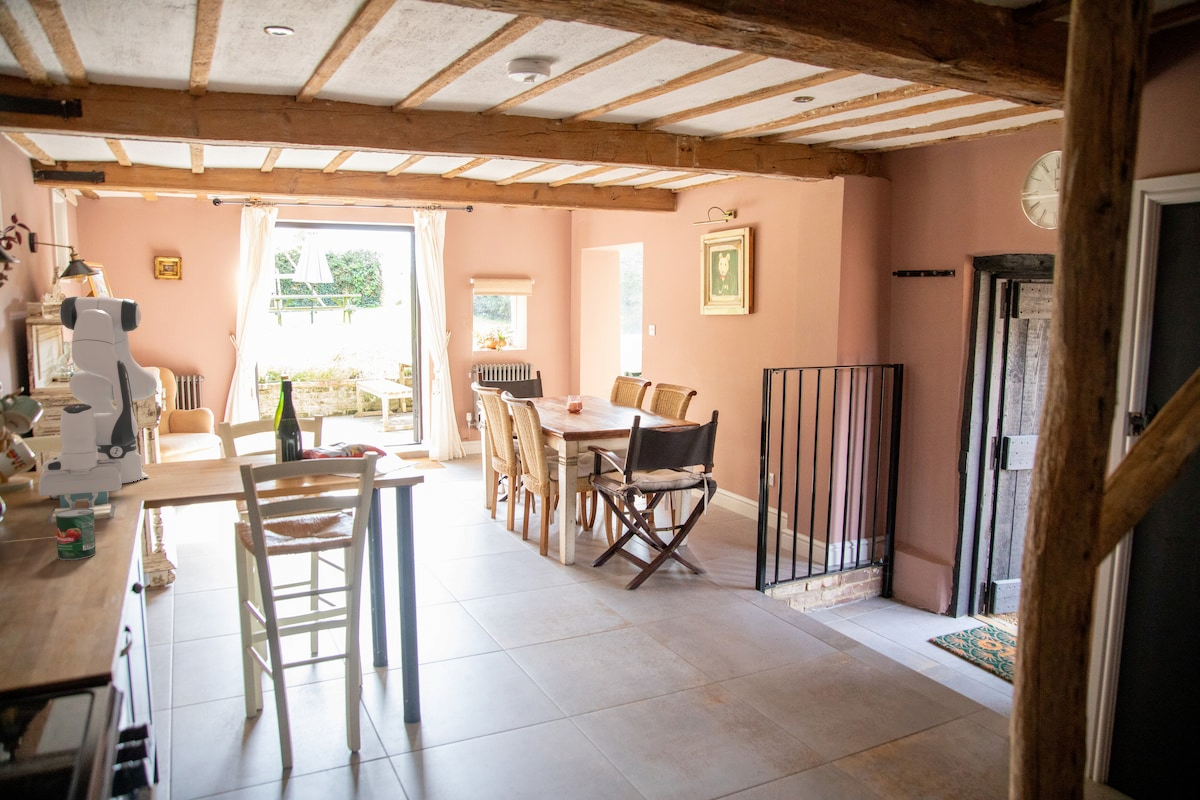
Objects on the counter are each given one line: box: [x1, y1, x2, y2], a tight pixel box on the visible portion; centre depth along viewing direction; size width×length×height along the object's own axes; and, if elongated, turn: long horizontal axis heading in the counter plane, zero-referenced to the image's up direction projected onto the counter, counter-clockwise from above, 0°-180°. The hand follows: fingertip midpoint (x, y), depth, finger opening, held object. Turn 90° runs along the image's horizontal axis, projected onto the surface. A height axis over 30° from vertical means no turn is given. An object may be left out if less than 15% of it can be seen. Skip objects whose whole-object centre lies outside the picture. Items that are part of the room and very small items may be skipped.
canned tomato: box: [55, 508, 97, 561], centre depth 197 cm, size 8×8×11 cm
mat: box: [46, 505, 116, 525], centre depth 234 cm, size 16×16×1 cm
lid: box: [51, 498, 112, 524], centre depth 234 cm, size 14×14×4 cm
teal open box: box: [59, 491, 110, 508], centre depth 247 cm, size 12×12×6 cm
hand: (82, 508), depth 234 cm, fingers closed on lid, 3 cm apart
